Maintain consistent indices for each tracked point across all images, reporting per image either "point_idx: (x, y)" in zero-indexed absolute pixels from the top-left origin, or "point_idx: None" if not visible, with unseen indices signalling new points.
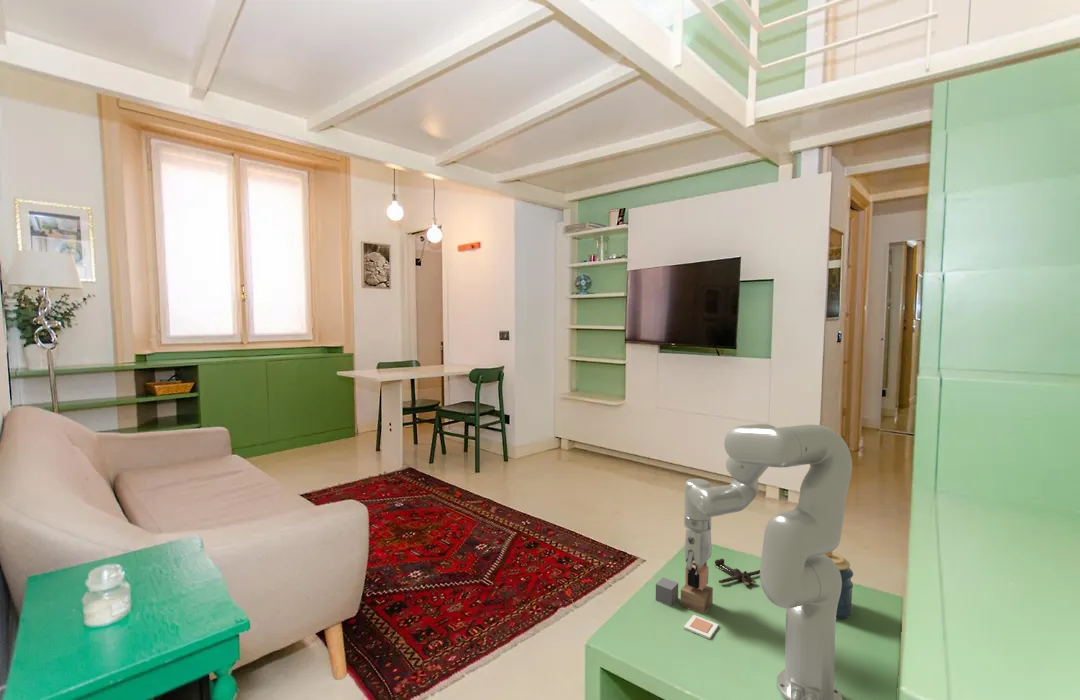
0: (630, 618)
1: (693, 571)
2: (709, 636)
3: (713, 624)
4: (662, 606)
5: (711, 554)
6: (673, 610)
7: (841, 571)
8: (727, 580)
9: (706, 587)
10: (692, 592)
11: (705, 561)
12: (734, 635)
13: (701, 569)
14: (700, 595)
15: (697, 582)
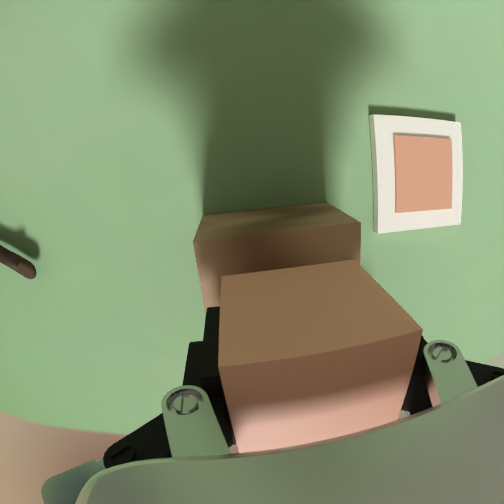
0: (465, 355)
1: (497, 369)
2: (457, 124)
3: (389, 132)
4: None
5: (106, 475)
6: None
7: None
8: (3, 251)
9: (223, 272)
10: None
11: (444, 423)
12: (374, 46)
13: (349, 377)
14: (348, 253)
15: None
